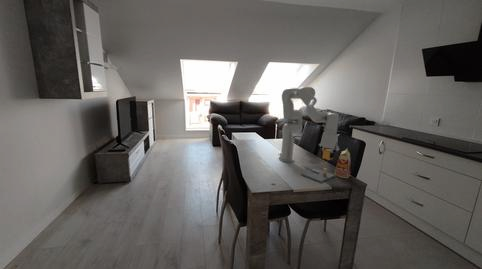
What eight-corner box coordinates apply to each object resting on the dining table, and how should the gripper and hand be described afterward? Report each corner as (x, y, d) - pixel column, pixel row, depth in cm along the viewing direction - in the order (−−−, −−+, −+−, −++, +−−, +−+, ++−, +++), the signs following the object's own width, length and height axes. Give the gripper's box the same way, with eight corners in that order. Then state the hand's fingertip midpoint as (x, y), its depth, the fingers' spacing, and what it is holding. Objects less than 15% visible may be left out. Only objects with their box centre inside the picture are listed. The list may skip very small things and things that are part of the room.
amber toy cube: (322, 158, 158) (323, 150, 157) (326, 156, 162) (327, 148, 160) (329, 160, 155) (329, 151, 153) (332, 158, 158) (333, 150, 156)
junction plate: (300, 174, 163) (301, 166, 162) (315, 169, 175) (315, 161, 173) (320, 182, 152) (322, 174, 150) (334, 176, 163) (335, 168, 161)
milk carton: (337, 171, 172) (341, 146, 168) (350, 175, 166) (354, 149, 162) (333, 175, 165) (337, 149, 161) (347, 179, 160) (351, 151, 155)
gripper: (316, 129, 158) (313, 154, 162) (340, 134, 145) (336, 161, 149) (322, 128, 162) (319, 153, 166) (345, 133, 150) (342, 159, 154)
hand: (327, 156), depth 158 cm, fingers closed on amber toy cube, 5 cm apart
